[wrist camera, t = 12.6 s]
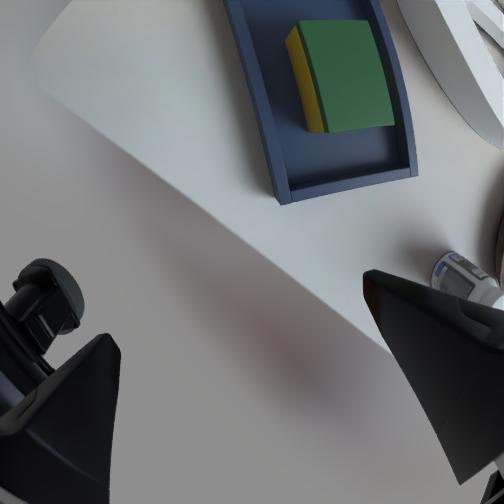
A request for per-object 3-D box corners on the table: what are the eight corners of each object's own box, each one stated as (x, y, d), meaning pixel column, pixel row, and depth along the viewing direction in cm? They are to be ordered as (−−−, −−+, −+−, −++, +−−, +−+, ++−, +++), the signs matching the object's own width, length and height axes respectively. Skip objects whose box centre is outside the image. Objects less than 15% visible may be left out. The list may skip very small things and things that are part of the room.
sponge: (308, 133, 17) (328, 133, 14) (284, 40, 14) (297, 20, 11) (365, 124, 17) (395, 125, 14) (343, 36, 14) (368, 20, 11)
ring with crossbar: (552, 113, 16) (574, 118, 11) (472, 191, 20) (505, 205, 16) (470, -55, 5) (489, -62, 1) (328, -64, 10) (345, -90, 5)
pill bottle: (435, 298, 25) (480, 345, 17) (425, 271, 23) (477, 319, 16) (463, 271, 24) (511, 311, 16) (455, 241, 22) (511, 280, 15)
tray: (275, 199, 19) (280, 205, 18) (207, -48, 11) (205, -60, 9) (405, 171, 19) (418, 176, 17) (338, -53, 10) (346, -63, 9)
